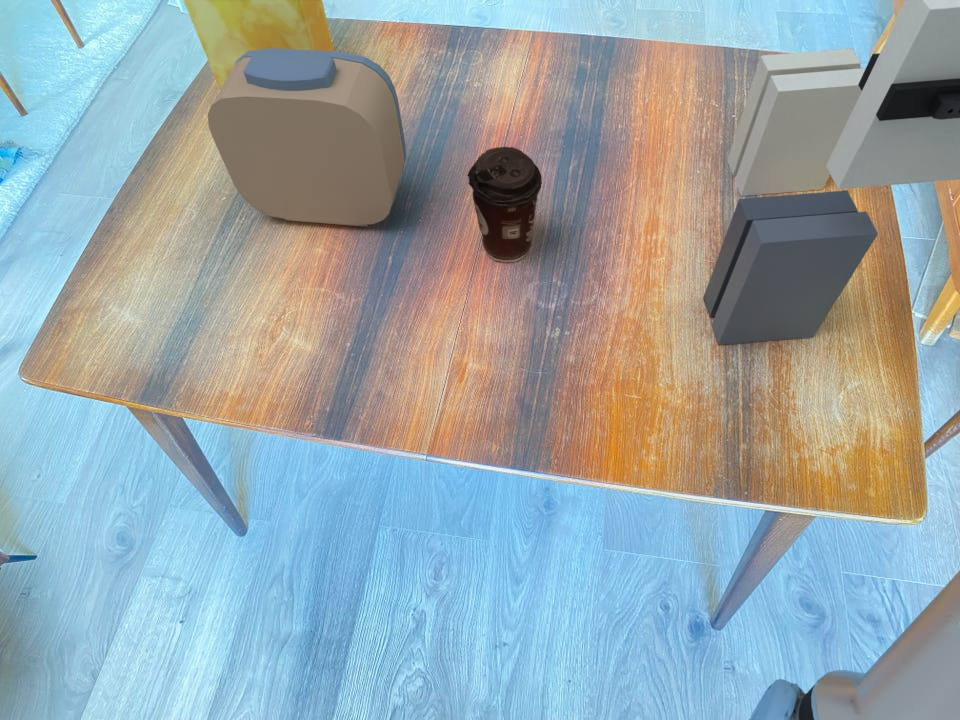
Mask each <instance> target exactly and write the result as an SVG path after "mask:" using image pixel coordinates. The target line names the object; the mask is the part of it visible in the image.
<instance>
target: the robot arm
mask: <svg viewBox="0 0 960 720" xmlns="http://www.w3.org/2000/svg"><path fill="white" fill-rule="evenodd" d="M879 54H880V52H879V53H872V54H871V56H870V59H869V60H868V62H867V65H866V67H865V71H864V73H863V75H862V78H861V80H860V82H859V84H858V86H859V87H860V89H861V91H862V90H863V88H864V86H865V84H866V82H867V80H868V77H869V75H870V73H871V71H872V69H873V67H874V65H875V63H876V61H877V59H878V57H879ZM876 116H877V118H878V119H879V121H885V120H897V119H910V118H922V117H933V119H940V120H943V119H954V118H960V78H958V79H946V80H934V81H921V82H909V83H897V84H891V86H890V88H889V90H888V92H887V94H886V96H885V98H884V100H883V102H882V104H881V106H880V107H879V109H878V111H877V113H876ZM748 720H960V570H958V571H957V573H956V574H954V576H953V577H952V578H951V579H950V580H949V581H948V582H947V584H946V585H944V587H943V588H942V589H941V590H940V591H939V593H938V594H937V595H936V596H935V597H934V598H933V599H932V600H931V601H930V602H929V603H928V605H926V606H925V608H923V610H922V611H921V612H920V613H919V614H918V615H917V616H916V617H915V618H914V620H913V621H912V622H911V623H910V624H909V625H908V626H907V627H906V628H905V629H904V631H903V632H901V634H900V635H899V636H898V637H897V638H896V639H895V640H894V641H893V642H892V644H891V645H889V647H888V648H887V649H886V650H885V651H884V653H882V655H881V656H880V657H879V658H878V659H877V660H876V661H875V662H874V663H873V664H872V665H871V666H870V668H868V670H867V671H865V672H859V671H854V670H845V669H837V670H832V671H828V672H827V673H825V674H824V675H822V677H820V678H819V679H817V680H816V682H815V683H814V685H812V687H810V689H809V690H808V691H807V692H806V693H805V692H804V691H803V689H802V688H801V687H800V685H799V684H798V683H793V682H791V681H789V680H786V679H783V678H778V679H775V680H774V681H773V683H771V684H770V685H769V686H768V687H767V689H766V690H765V691H764V693H763V695H762V696H761V698H760V700H759V701H758V702H757V704H756V706H755V708H754V710H753V712H752V714H751V716H750V717H749V719H748Z"/></svg>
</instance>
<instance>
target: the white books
mask: <svg viewBox="0 0 960 720" xmlns="http://www.w3.org/2000/svg"><path fill="white" fill-rule="evenodd" d="M861 65H862V61H861V59H860V58H859V56H858V55H857V53H856V52H855V50H854V48H853V47H852V48H851V47H849V48H838V49H827V50H826V49H825V50H813V51H802V52H790V53H789V52H788V53H777V54H776V53H775V54H765V55H760V58H759V61H758V64H757V67H756V69H755V73H754V76H753V79H752V81H751V85H750V89H749V91H748V95H747V97H746V101H745V104H744V107H743V109H742V113H741V117H740V120H739V123H738V126H737V129H736V132H735V136H734V138H733V141H732V144H731V147H730V151H729V154H728V157H727V160H726V162H727V165H728V167H729V170H730V173H731V175H732V176H735V179H734V182H735V186H736V189H737V190H738V193H739V195H740V197H747V196H760V195H772V194H773V195H774V194H786V193H798V192H808V191H809V192H810V191H823V189H824V188H825V186H826V184H827V182H828V180H829V178H830V177H831V175H830V173H829V171H828V169H827V167H826V165H827V163H828V161H829V159H830V157H831V155H832V153H833V151H834V149H835V147H836V145H837V142H838V140H839V138H840V136H841V134H842V132H843V130H844V128H845V126H846V124H847V121H848V119H849V117H850V115H851V113H852V111H853V109H854V107H855V105H856V103H857V101H858V98H859V96H860V94H861V92H862V91H861V89H860V87H859V86H858V84H859V82H860V80H861V78H862V75H863V73H864V71H865V69H866V67H862V68H861Z"/></svg>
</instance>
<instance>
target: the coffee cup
mask: <svg viewBox="0 0 960 720" xmlns="http://www.w3.org/2000/svg"><path fill="white" fill-rule="evenodd" d="M467 178H468V185H469V186H470V187H471V189H472V200H473V205H474V206H473V207H474V210H475V214H476V219H477V224H478V228H479V231H480V233H481V236H482V238H481V239H482V240H481V241H482V245H483V250H484V251H485V252H486V254H487V256H488V257H490V258H492V259H493V261H495V262H500V263H501V262H502V263H504V264H505V263H506V264H507V263H515V262H518V261H522V259H523V258H525V257H526V255H528V253H529V252H530V251H531V248H532V241H533V232H534V227H535V218H536V210H537V203H538V196H539V193H540V191H541V189H542V184H543V181H542V179H543V177H542V174H541V171H540V169H539V167H538V166H537V165H536V163H534V161H533V159H532V158H531V157H530V156H528V155H527V154H526V153H525V152H523V151H522V150H520V149H518V148H516V147H513V146H500V147H499V146H496V147H493V148H489V149H486V150H485V152H483V153H481V154H480V156H478V157H477V160H475V162H474V164H473V165H472V166H471V168H470V169H469V170H468V172H467Z"/></svg>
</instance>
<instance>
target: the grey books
mask: <svg viewBox="0 0 960 720" xmlns="http://www.w3.org/2000/svg"><path fill="white" fill-rule="evenodd" d="M878 235H879V232H878V230H877V229H876V227H875V225H874V223H873V220H872V219H871V217H870V215H869V214H868V212H867V211H866V210H865V211H859V209H858V208H857V206H856V204H855V202H854V201H853V199H852V197H851V195H850V192H849V191H848V189H844V190H835V191H833V190H832V191H821V192H808V193H797V194H785V195H783V194H782V195H771V196H760V197H758V196H757V197H747V198H738V200H737V203H736V206H735V208H734V212H733V214H732V217H731V219H730V222H729V226H728V228H727V231H726V234H725V236H724V239H723V242H722V245H721V247H720V250H719V253H718V255H717V259H716V261H715V263H714V266H713V269H712V272H711V275H710V278H709V281H708V282H707V283H708V284H707V286H706V289H705V292H704V295H703V298H702V299H703V302H704V305H705V308H706V311H707V315H708V317H709V318H713V320H712V323H711V327H712V330H713V334H714V337H715V339H716V343H717V345H718V346H725V345H734V344H735V345H736V344H737V345H738V344H750V343H762V342H773V341H776V342H777V341H787V340H798V339H801V340H802V339H810V338H811V339H812V338H814V337H815V336H816V334H817V333H818V332H819V329H820V328H821V326H822V325H823V323H824V322H825V320H826V318H827V316H828V315H829V313H830V312H831V310H832V308H833V307H834V306H835V304H836V302H837V301H838V299H839V297H840V296H841V294H842V292H843V291H844V289H845V288H846V286H847V284H848V283H849V281H850V280H851V278H852V277H853V276H854V273H855V272H856V270H857V269H858V268H859V265H860V264H861V262H862V260H863V259H864V258H865V256H866V254H867V253H868V251H869V250H870V247H872V244H873V243H874V242H875V240H876V238H877V237H878Z"/></svg>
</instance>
